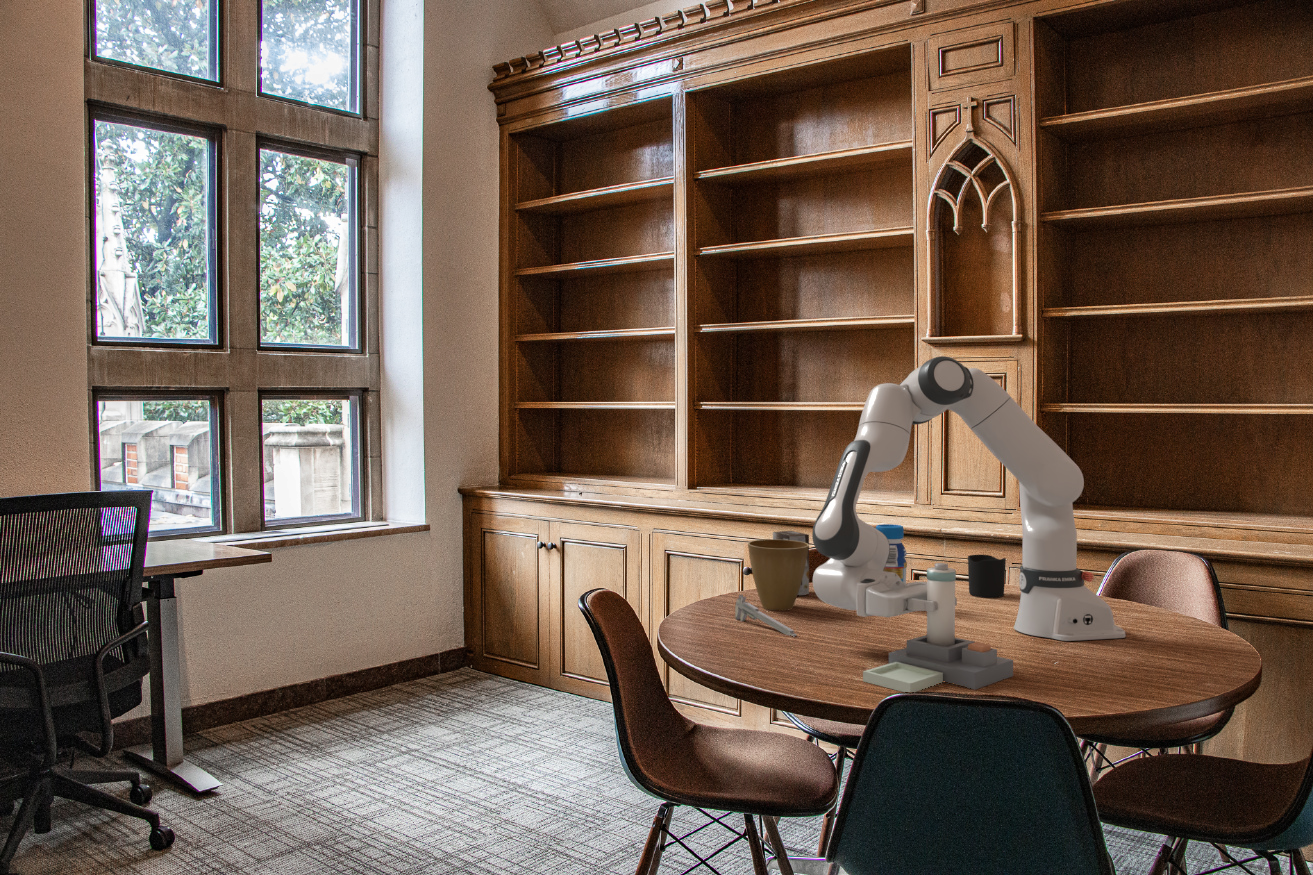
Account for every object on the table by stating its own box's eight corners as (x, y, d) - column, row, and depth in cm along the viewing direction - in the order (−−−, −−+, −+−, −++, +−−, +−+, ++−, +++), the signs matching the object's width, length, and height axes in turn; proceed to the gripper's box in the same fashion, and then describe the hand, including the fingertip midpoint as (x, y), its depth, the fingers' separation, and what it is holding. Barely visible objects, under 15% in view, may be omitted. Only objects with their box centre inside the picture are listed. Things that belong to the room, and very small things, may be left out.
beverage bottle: (865, 605, 238) (865, 525, 237) (884, 600, 244) (885, 522, 243) (894, 610, 232) (894, 528, 231) (913, 605, 237) (913, 525, 237)
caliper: (734, 620, 222) (735, 594, 222) (738, 620, 223) (738, 593, 223) (793, 638, 205) (793, 609, 205) (797, 637, 206) (797, 608, 205)
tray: (895, 671, 178) (895, 661, 178) (942, 682, 171) (942, 672, 171) (862, 681, 172) (862, 671, 172) (910, 693, 164) (910, 683, 164)
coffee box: (810, 594, 251) (810, 534, 251) (789, 596, 249) (789, 535, 248) (792, 588, 260) (792, 530, 259) (771, 590, 257) (771, 531, 257)
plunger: (976, 658, 175) (976, 641, 175) (990, 661, 173) (990, 644, 173) (968, 660, 173) (968, 644, 173) (982, 663, 171) (982, 647, 171)
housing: (928, 656, 189) (928, 629, 188) (1013, 676, 175) (1013, 646, 175) (888, 668, 180) (888, 639, 180) (974, 689, 166) (975, 658, 166)
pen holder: (1002, 592, 254) (1003, 555, 254) (1007, 599, 245) (1008, 560, 245) (966, 591, 256) (966, 554, 256) (969, 597, 247) (969, 559, 247)
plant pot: (737, 609, 233) (737, 544, 232) (763, 599, 245) (763, 537, 245) (794, 616, 225) (794, 549, 224) (817, 605, 238) (818, 541, 237)
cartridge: (950, 650, 182) (950, 561, 181) (958, 657, 176) (959, 566, 176) (922, 650, 182) (923, 561, 181) (930, 657, 176) (931, 566, 176)
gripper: (914, 602, 195) (975, 613, 185) (851, 616, 182) (913, 629, 172) (914, 571, 195) (975, 581, 185) (851, 584, 182) (913, 594, 171)
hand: (945, 604), depth 178 cm, fingers closed on cartridge, 5 cm apart
